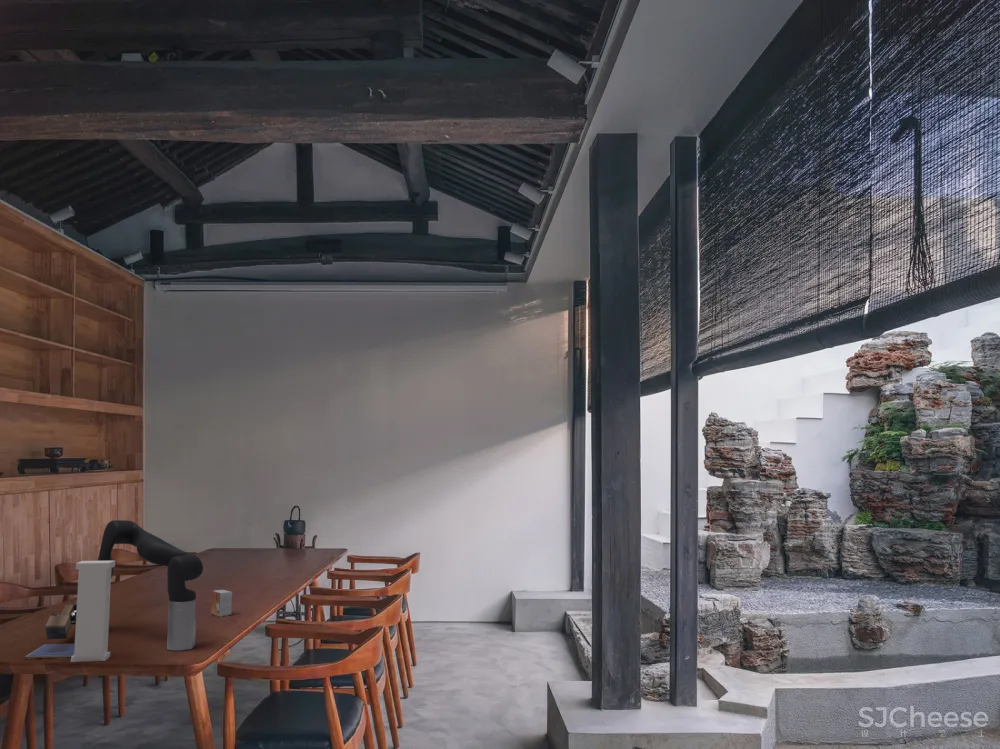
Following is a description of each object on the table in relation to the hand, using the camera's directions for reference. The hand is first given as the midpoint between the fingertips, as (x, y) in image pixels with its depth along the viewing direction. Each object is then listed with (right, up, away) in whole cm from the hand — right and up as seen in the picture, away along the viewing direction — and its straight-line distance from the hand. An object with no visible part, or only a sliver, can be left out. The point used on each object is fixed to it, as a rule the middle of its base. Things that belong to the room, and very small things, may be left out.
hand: (61, 621), depth 297 cm
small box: (+35, -17, +65) cm, 76 cm away
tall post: (+16, -10, -11) cm, 22 cm away
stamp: (0, -2, +2) cm, 3 cm away
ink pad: (0, -10, -2) cm, 11 cm away
